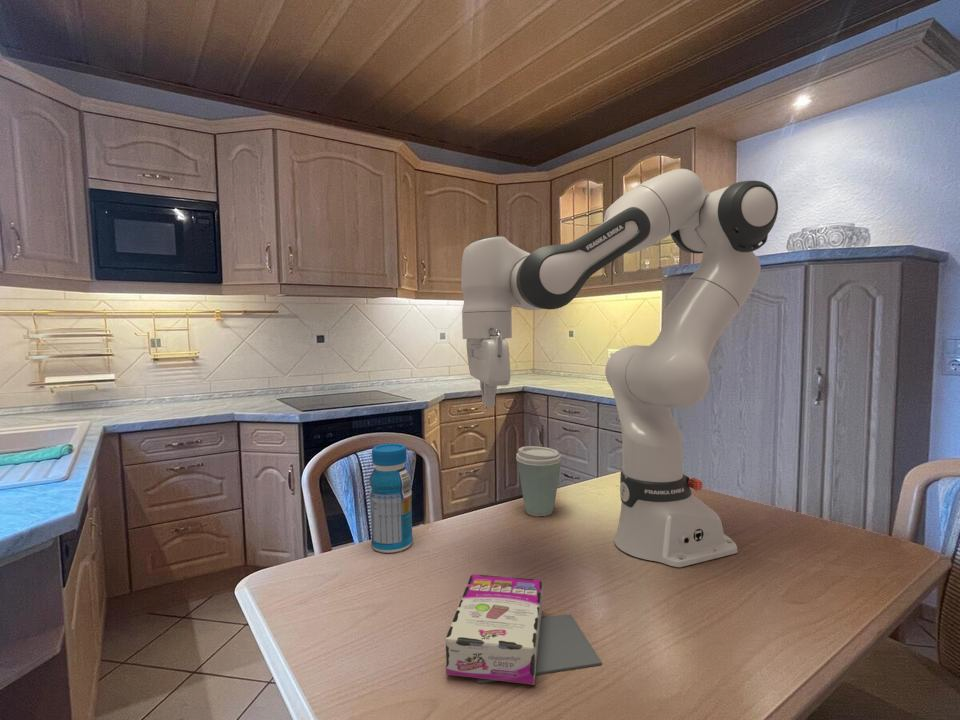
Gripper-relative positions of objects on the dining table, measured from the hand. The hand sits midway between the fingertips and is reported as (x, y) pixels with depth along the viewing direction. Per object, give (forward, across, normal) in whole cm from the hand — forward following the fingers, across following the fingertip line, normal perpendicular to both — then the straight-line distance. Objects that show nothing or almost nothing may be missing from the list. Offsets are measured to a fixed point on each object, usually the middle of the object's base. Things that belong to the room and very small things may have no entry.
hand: (488, 405), depth 89 cm
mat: (+29, -24, 0) cm, 38 cm away
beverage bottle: (+29, +12, +18) cm, 36 cm away
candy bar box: (+26, -15, +1) cm, 30 cm away
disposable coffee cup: (+29, +22, -16) cm, 40 cm away
